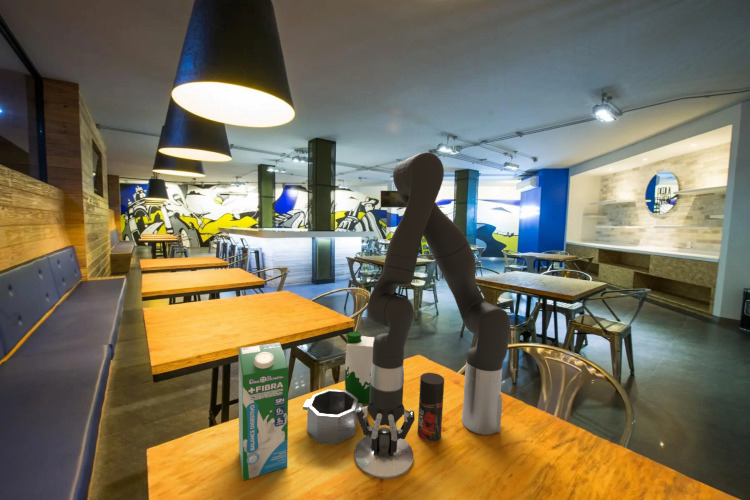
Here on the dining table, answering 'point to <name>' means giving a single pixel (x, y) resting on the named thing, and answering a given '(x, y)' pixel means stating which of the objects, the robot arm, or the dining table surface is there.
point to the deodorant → (430, 407)
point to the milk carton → (263, 409)
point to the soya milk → (358, 366)
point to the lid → (383, 456)
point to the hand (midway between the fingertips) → (383, 451)
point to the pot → (331, 416)
